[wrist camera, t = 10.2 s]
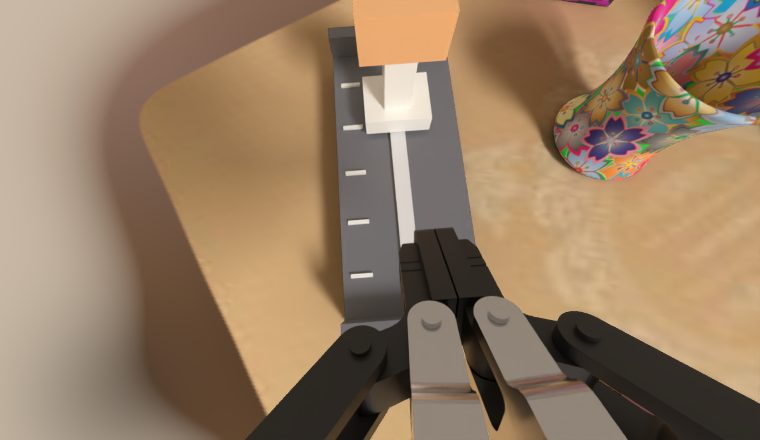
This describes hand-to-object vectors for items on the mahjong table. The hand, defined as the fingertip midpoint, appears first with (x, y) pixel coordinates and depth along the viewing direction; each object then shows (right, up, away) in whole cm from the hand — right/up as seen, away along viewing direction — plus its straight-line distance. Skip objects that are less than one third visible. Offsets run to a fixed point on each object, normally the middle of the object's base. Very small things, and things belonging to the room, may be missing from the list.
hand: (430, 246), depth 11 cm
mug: (+18, +10, +15) cm, 26 cm away
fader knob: (-1, +10, +12) cm, 15 cm away
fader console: (0, +4, +14) cm, 15 cm away
